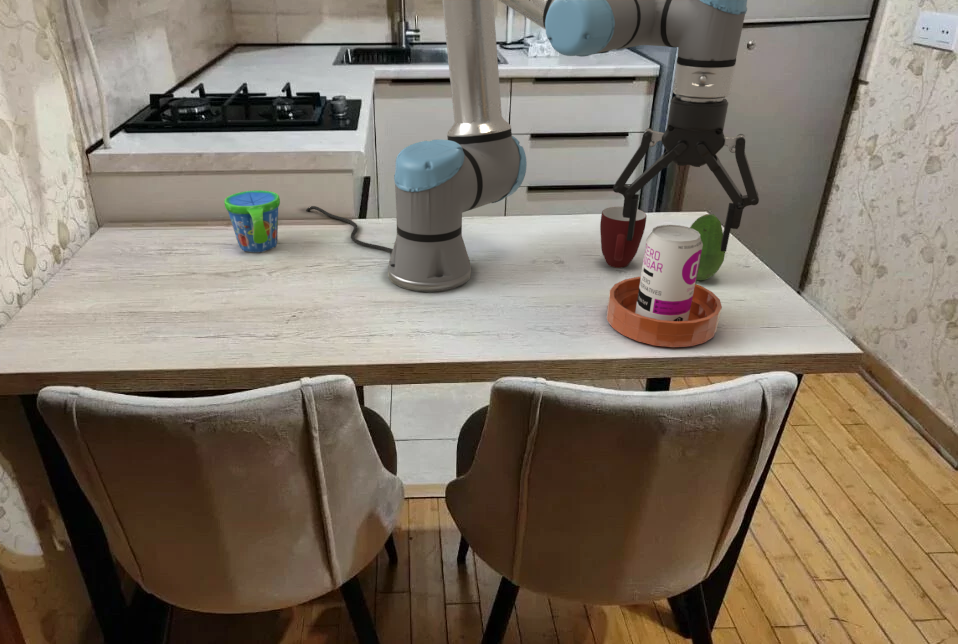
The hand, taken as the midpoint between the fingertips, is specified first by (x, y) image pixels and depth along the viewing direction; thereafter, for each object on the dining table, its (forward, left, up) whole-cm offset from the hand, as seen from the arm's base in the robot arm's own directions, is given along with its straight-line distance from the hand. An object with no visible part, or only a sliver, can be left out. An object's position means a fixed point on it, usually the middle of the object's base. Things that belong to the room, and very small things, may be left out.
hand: (675, 243), depth 110 cm
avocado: (+1, +21, -14) cm, 25 cm away
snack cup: (-79, -7, -14) cm, 81 cm away
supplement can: (0, 0, -14) cm, 14 cm away
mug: (-13, +19, -14) cm, 27 cm away
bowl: (0, 0, -14) cm, 14 cm away
